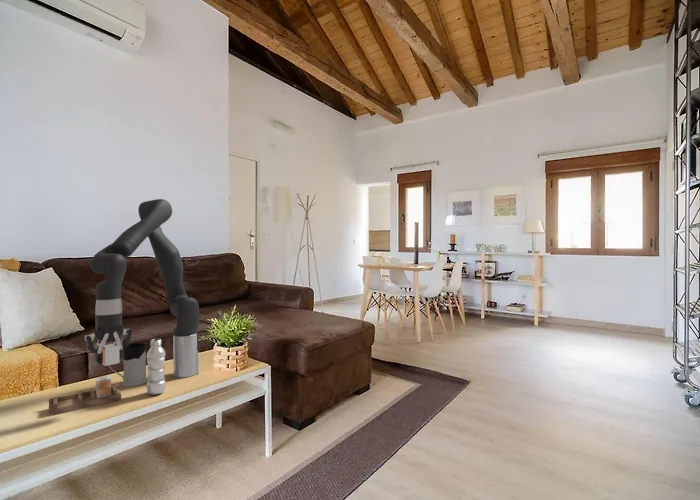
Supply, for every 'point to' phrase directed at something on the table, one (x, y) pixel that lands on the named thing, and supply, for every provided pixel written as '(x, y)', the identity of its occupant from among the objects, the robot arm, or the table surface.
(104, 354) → the wood-topped grey cube
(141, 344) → the glass holder
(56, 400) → the brown wooden rack
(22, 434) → the table surface
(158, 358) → the plastic bottle
